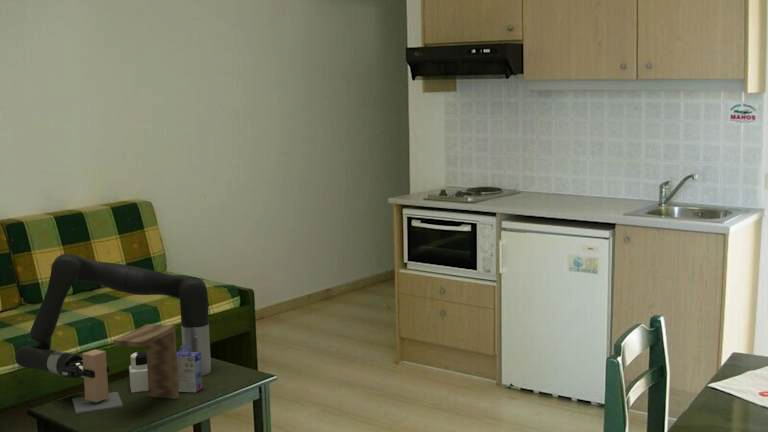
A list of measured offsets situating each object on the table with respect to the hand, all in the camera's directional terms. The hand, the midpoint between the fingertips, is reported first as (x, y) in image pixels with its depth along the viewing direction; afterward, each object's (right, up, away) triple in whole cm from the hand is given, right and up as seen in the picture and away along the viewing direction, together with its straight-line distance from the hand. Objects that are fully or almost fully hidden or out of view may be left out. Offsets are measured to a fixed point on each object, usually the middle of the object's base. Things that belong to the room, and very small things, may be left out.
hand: (101, 372), depth 287 cm
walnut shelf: (+15, -11, 0) cm, 18 cm away
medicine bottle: (+8, -8, +17) cm, 21 cm away
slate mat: (-2, -10, +3) cm, 11 cm away
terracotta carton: (-2, -9, +3) cm, 9 cm away
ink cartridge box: (+23, -8, +14) cm, 29 cm away
